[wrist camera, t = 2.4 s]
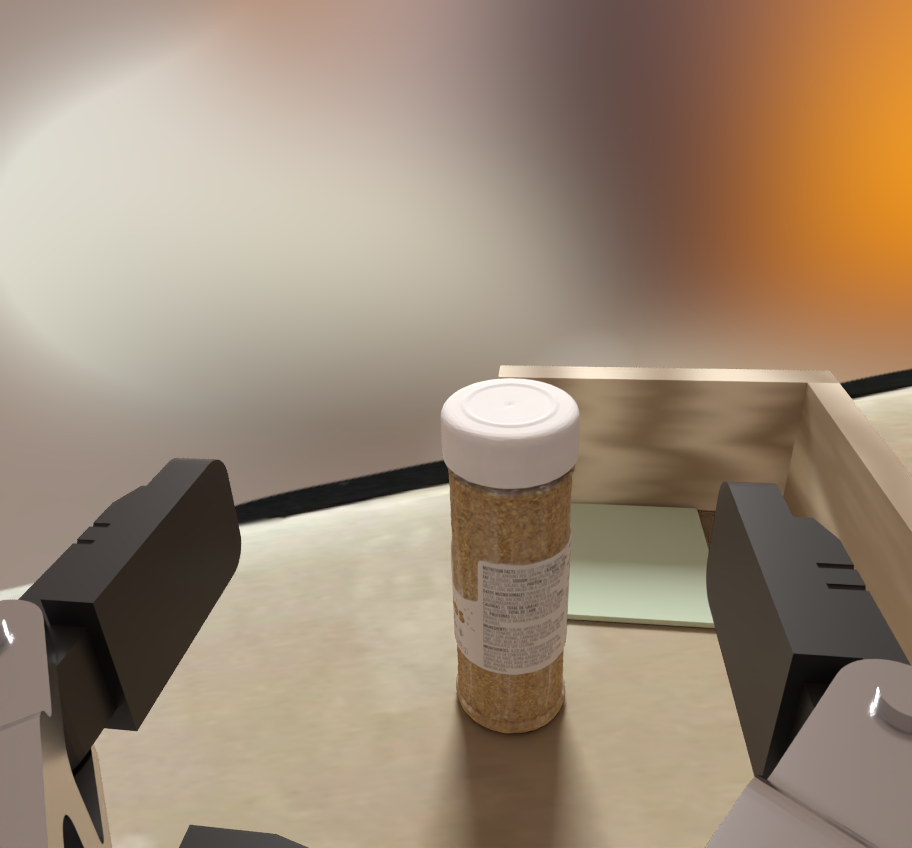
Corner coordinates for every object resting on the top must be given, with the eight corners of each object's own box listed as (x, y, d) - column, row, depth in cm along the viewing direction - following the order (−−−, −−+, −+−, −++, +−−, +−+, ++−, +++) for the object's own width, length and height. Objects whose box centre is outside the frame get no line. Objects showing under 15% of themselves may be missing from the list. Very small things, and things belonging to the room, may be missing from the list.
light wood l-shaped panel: (800, 499, 41) (829, 370, 37) (941, 776, 26) (1015, 606, 22) (501, 487, 43) (500, 365, 39) (468, 736, 28) (461, 575, 24)
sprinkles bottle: (458, 651, 32) (444, 374, 25) (562, 651, 32) (573, 371, 25) (453, 740, 28) (434, 438, 21) (572, 741, 28) (589, 435, 21)
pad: (696, 512, 40) (697, 508, 40) (728, 629, 32) (729, 624, 32) (534, 505, 41) (534, 501, 41) (527, 616, 34) (527, 611, 33)
